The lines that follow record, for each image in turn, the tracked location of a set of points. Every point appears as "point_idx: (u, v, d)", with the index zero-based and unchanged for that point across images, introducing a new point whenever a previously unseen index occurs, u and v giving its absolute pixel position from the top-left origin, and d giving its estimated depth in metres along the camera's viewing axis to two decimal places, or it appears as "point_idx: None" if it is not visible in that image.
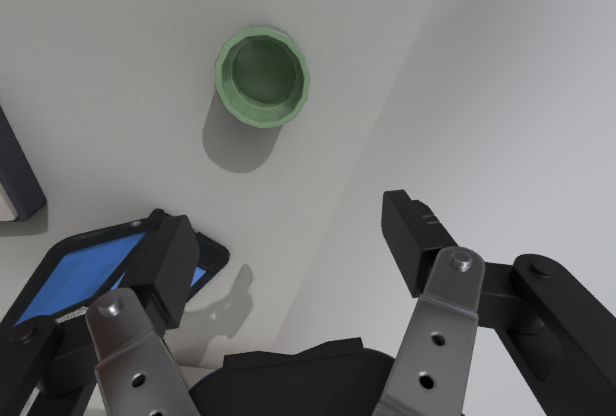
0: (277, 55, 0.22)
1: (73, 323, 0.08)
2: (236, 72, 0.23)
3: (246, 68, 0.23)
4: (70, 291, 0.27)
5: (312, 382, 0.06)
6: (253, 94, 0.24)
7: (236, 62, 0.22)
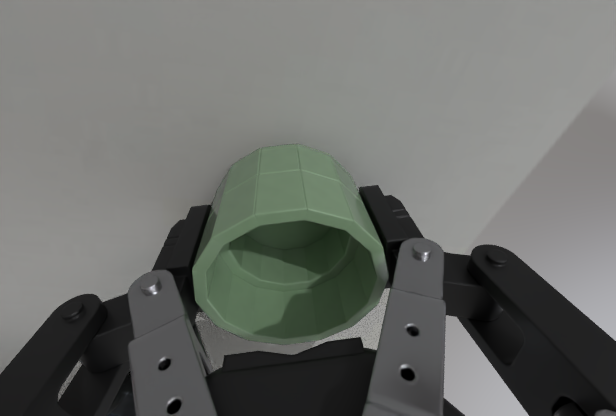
0: None
1: (114, 302, 0.09)
2: None
3: None
4: None
5: (312, 382, 0.06)
6: (266, 241, 0.14)
7: None
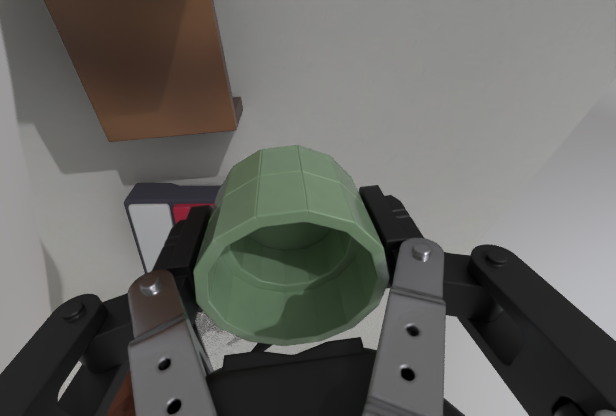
0: None
1: (114, 303, 0.09)
2: None
3: None
4: None
5: (312, 382, 0.06)
6: (267, 242, 0.14)
7: None
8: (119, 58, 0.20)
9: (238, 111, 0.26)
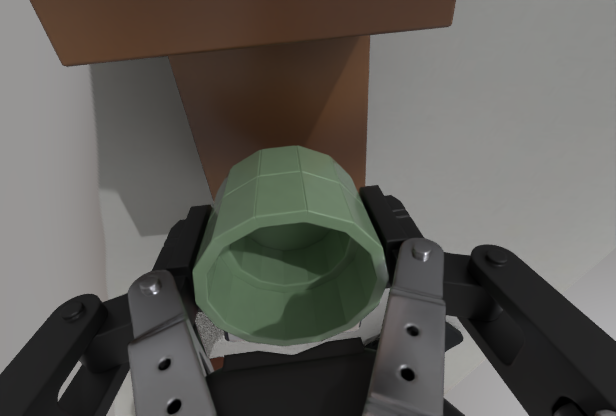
0: None
1: (114, 303, 0.09)
2: None
3: None
4: None
5: (312, 382, 0.06)
6: (266, 242, 0.14)
7: None
8: (250, 137, 0.17)
9: None
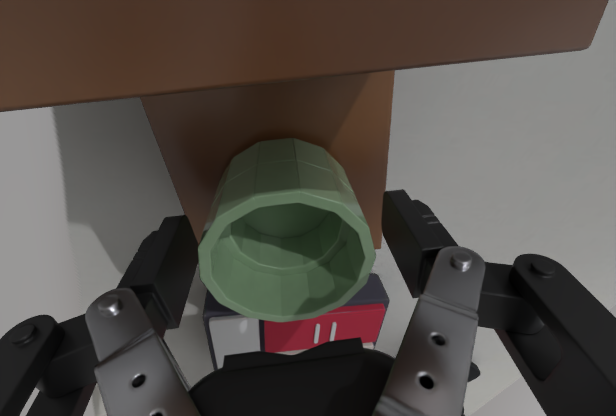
0: None
1: (73, 323, 0.08)
2: None
3: None
4: None
5: (312, 382, 0.06)
6: (265, 230, 0.15)
7: None
8: None
9: None
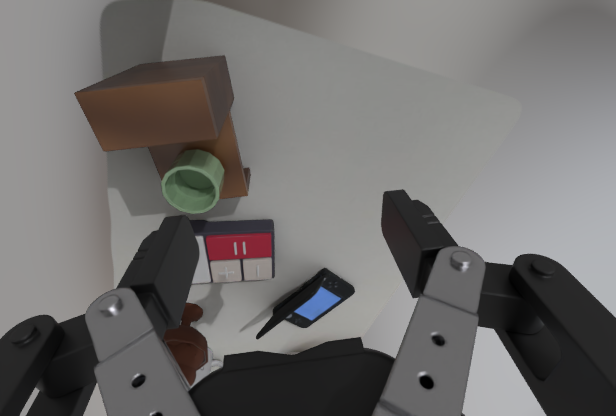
0: None
1: (73, 323, 0.08)
2: (180, 174, 0.36)
3: (187, 171, 0.36)
4: None
5: (312, 382, 0.06)
6: (193, 185, 0.37)
7: None
8: None
9: (248, 180, 0.41)
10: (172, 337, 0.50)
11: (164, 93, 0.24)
